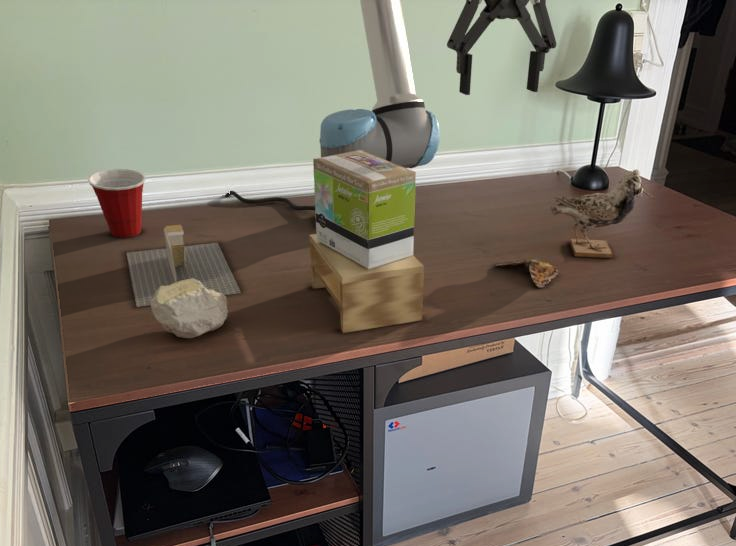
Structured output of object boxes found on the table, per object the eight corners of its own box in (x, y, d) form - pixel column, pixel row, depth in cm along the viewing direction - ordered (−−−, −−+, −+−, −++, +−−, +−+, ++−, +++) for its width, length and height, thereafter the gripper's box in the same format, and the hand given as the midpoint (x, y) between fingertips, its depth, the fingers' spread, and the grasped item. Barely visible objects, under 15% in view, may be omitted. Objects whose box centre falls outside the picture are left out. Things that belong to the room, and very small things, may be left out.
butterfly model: (539, 288, 138) (541, 273, 136) (493, 266, 146) (495, 252, 144) (570, 278, 143) (572, 263, 141) (524, 257, 151) (526, 243, 149)
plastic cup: (110, 246, 147) (99, 188, 140) (90, 230, 153) (79, 173, 147) (163, 235, 153) (154, 178, 147) (141, 220, 160) (132, 165, 154)
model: (185, 260, 142) (180, 222, 139) (193, 282, 134) (188, 242, 130) (168, 262, 141) (162, 223, 137) (175, 284, 133) (169, 244, 129)
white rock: (243, 321, 122) (191, 316, 125) (236, 273, 119) (183, 269, 122) (202, 350, 112) (146, 343, 115) (194, 298, 108) (136, 292, 111)
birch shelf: (343, 333, 120) (341, 277, 115) (311, 286, 135) (309, 234, 130) (422, 320, 125) (424, 266, 120) (383, 276, 140) (383, 226, 135)
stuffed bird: (645, 256, 154) (662, 175, 146) (559, 263, 149) (570, 179, 140) (621, 238, 162) (635, 161, 154) (538, 245, 157) (548, 165, 148)
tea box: (314, 242, 126) (310, 156, 119) (360, 230, 132) (360, 147, 125) (367, 271, 117) (367, 179, 110) (415, 256, 123) (418, 169, 116)
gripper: (450, -45, 113) (443, 99, 124) (587, -41, 122) (569, 93, 133) (431, -48, 119) (426, 90, 130) (562, -43, 128) (548, 85, 139)
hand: (498, 92), depth 131 cm, fingers open, 13 cm apart
